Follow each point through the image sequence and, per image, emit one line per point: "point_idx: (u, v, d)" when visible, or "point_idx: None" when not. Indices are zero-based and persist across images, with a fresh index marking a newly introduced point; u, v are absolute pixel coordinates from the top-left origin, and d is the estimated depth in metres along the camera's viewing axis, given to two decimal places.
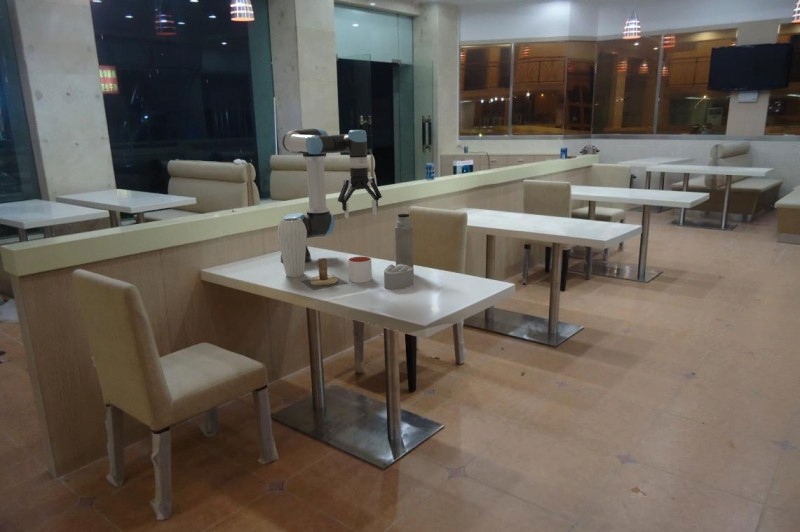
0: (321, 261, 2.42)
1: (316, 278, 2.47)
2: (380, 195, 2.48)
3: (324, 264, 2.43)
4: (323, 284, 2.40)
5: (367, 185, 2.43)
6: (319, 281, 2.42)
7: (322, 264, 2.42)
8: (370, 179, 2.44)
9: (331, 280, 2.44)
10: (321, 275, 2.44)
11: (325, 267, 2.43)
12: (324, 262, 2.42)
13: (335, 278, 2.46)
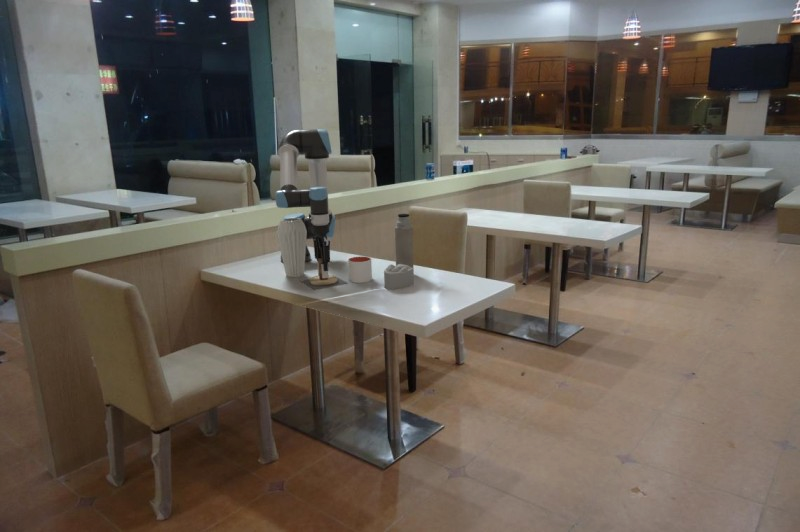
0: (321, 261, 2.42)
1: (316, 278, 2.47)
2: (324, 260, 2.39)
3: None
4: (323, 284, 2.40)
5: (319, 244, 2.39)
6: (319, 281, 2.42)
7: None
8: None
9: (331, 279, 2.44)
10: (321, 275, 2.44)
11: None
12: None
13: (335, 278, 2.46)
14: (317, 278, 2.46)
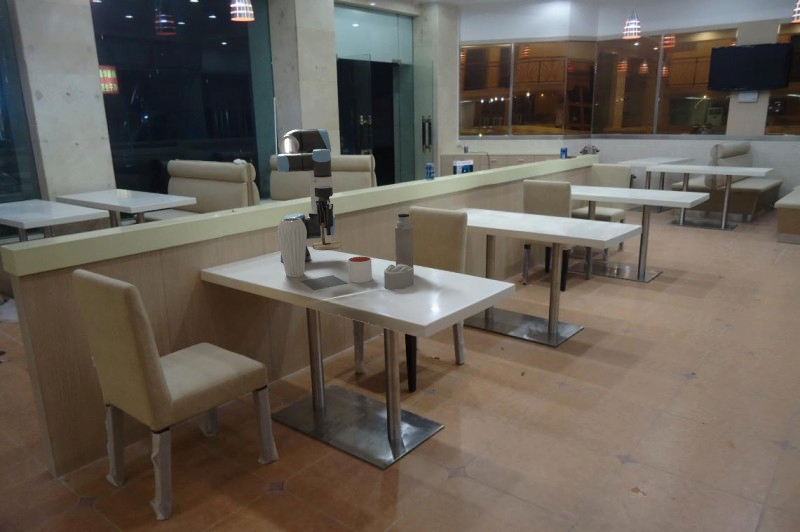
0: (324, 225, 2.38)
1: (319, 243, 2.43)
2: (327, 224, 2.35)
3: None
4: (326, 248, 2.36)
5: (322, 208, 2.35)
6: (321, 245, 2.38)
7: None
8: None
9: (334, 244, 2.40)
10: (324, 239, 2.40)
11: None
12: None
13: (338, 243, 2.42)
14: (320, 243, 2.42)
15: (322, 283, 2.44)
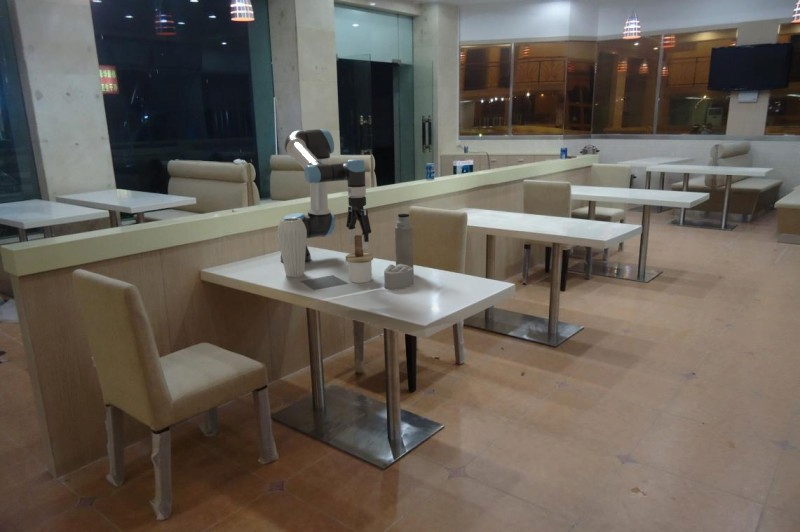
0: (357, 238, 2.42)
1: (352, 255, 2.47)
2: (365, 231, 2.34)
3: (361, 241, 2.43)
4: (360, 260, 2.40)
5: (357, 216, 2.38)
6: (355, 258, 2.42)
7: (358, 241, 2.42)
8: None
9: (367, 257, 2.44)
10: (357, 252, 2.44)
11: (361, 244, 2.43)
12: (360, 239, 2.42)
13: (371, 255, 2.46)
14: (353, 255, 2.46)
15: (322, 283, 2.44)
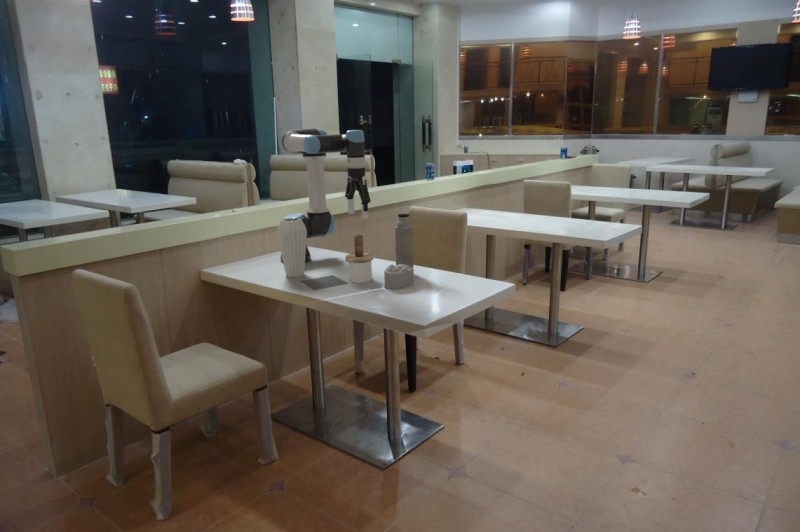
0: (357, 238, 2.42)
1: (352, 255, 2.47)
2: (364, 200, 2.36)
3: (360, 241, 2.43)
4: (360, 261, 2.40)
5: (356, 186, 2.40)
6: (355, 258, 2.42)
7: (358, 241, 2.42)
8: None
9: (367, 257, 2.44)
10: (357, 252, 2.44)
11: (361, 244, 2.43)
12: (360, 239, 2.42)
13: (371, 255, 2.46)
14: (353, 255, 2.46)
15: (322, 283, 2.44)
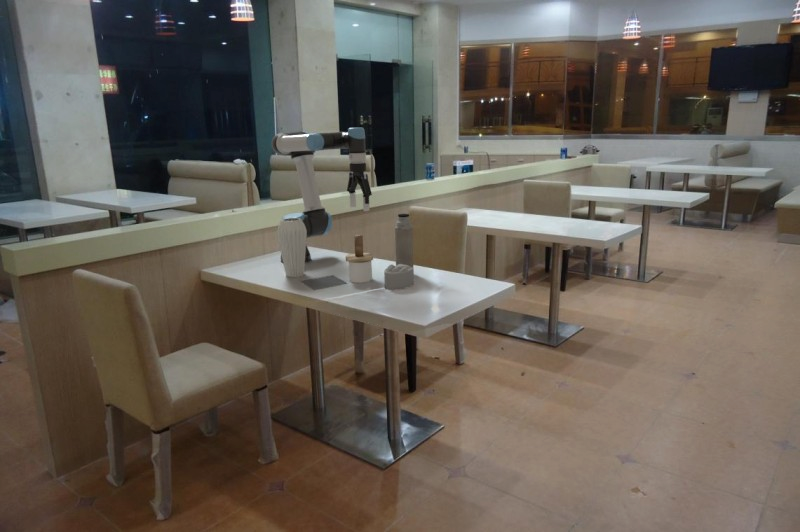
0: (357, 238, 2.42)
1: (352, 255, 2.47)
2: (366, 193, 2.50)
3: (360, 241, 2.43)
4: (360, 260, 2.40)
5: (358, 180, 2.54)
6: (355, 258, 2.42)
7: (358, 241, 2.42)
8: None
9: (367, 257, 2.44)
10: (357, 252, 2.44)
11: (361, 244, 2.43)
12: (360, 239, 2.42)
13: (371, 255, 2.46)
14: (353, 255, 2.46)
15: (322, 283, 2.44)
